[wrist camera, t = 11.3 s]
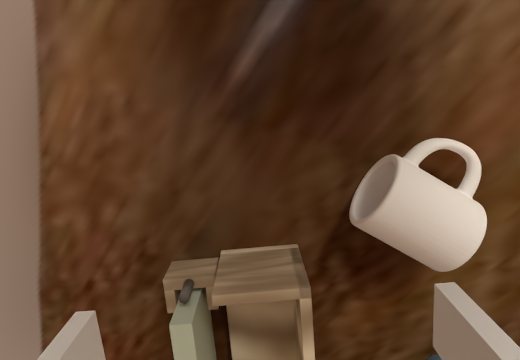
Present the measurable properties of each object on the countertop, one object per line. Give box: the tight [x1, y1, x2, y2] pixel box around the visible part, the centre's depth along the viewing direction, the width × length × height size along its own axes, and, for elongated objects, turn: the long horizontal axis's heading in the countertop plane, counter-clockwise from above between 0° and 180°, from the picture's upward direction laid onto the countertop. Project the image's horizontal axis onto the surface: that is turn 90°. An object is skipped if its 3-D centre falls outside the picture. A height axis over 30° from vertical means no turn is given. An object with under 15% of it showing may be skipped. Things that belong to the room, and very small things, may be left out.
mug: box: [349, 138, 487, 272], centre depth 37 cm, size 12×10×8 cm
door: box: [169, 288, 217, 360], centre depth 40 cm, size 14×3×10 cm, turn 5°
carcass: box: [163, 244, 315, 360], centre depth 40 cm, size 19×14×10 cm
